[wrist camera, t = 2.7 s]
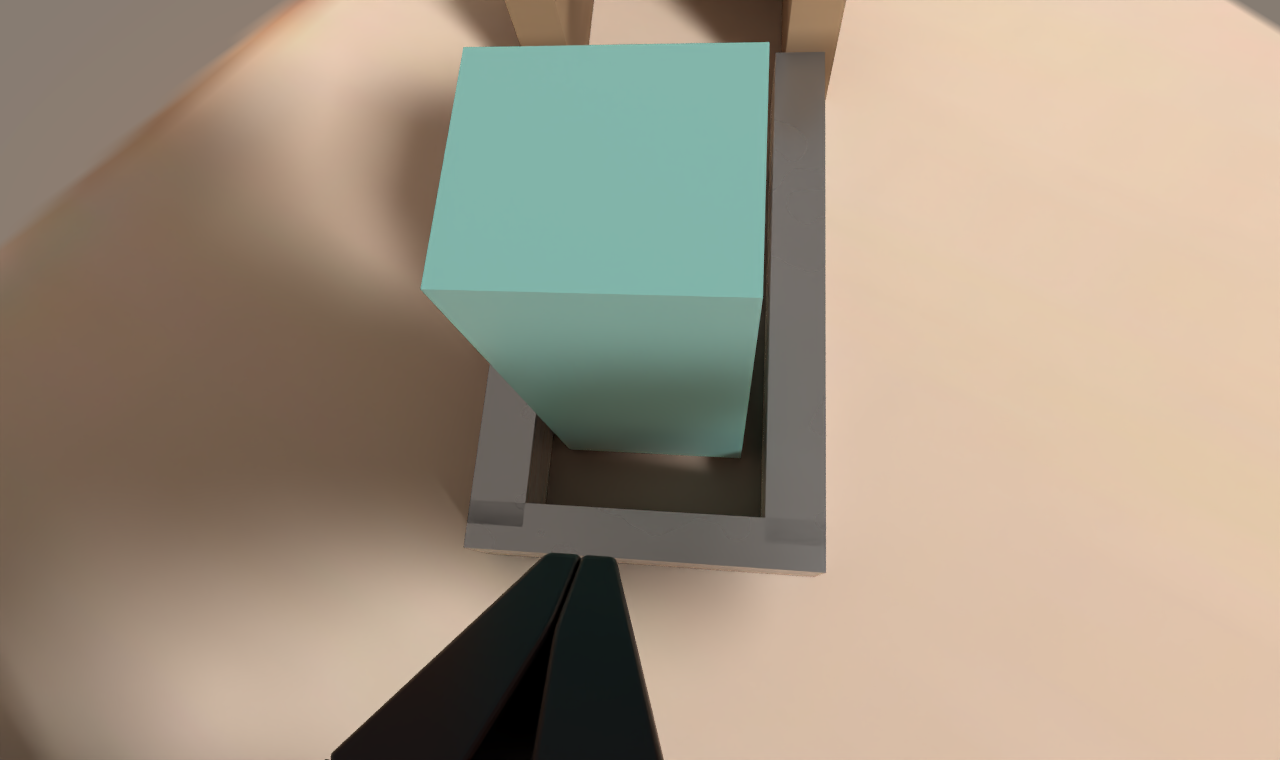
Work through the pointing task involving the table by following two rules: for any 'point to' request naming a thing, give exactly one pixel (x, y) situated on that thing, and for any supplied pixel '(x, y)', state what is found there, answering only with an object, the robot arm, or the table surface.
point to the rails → (792, 409)
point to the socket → (563, 4)
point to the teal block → (610, 236)
